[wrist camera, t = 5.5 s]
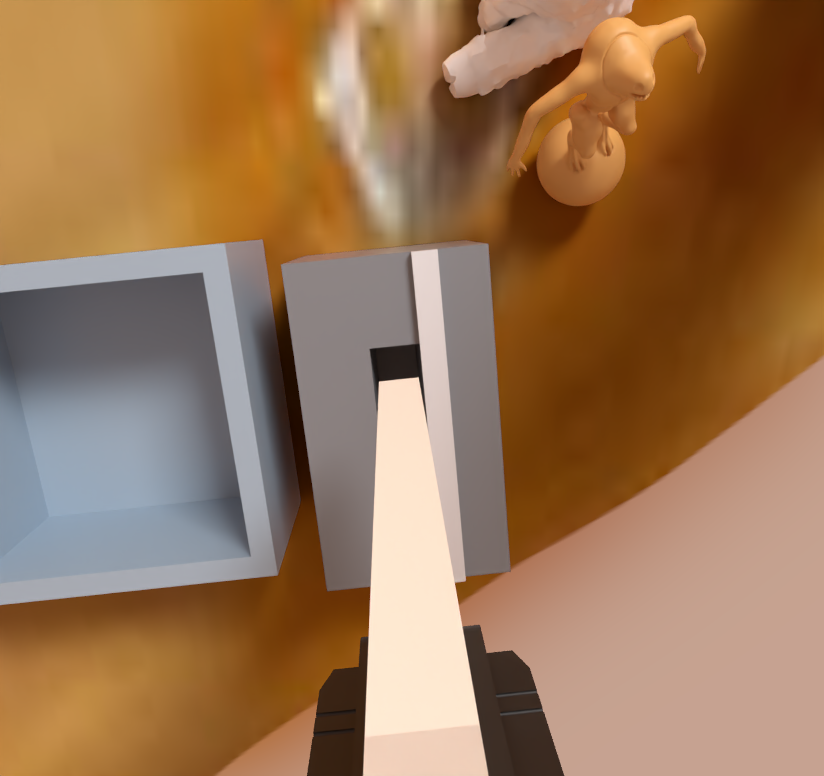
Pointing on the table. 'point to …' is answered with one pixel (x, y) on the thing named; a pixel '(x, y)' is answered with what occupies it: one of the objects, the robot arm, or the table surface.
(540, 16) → the white creature statuette
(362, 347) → the dispenser
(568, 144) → the figurine
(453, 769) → the ticket
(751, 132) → the table surface
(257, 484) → the bin
